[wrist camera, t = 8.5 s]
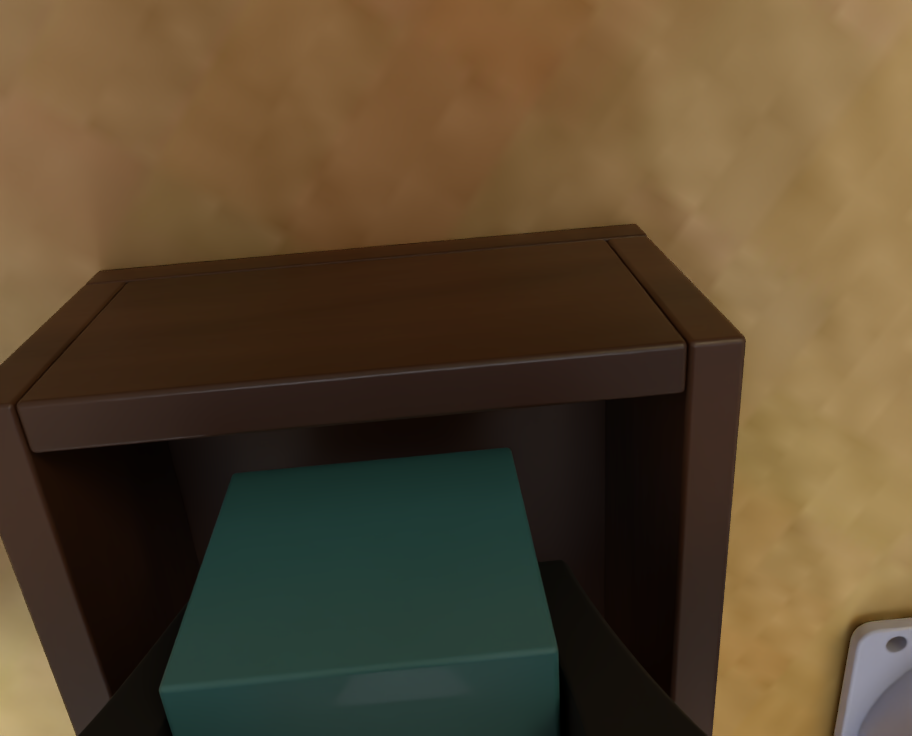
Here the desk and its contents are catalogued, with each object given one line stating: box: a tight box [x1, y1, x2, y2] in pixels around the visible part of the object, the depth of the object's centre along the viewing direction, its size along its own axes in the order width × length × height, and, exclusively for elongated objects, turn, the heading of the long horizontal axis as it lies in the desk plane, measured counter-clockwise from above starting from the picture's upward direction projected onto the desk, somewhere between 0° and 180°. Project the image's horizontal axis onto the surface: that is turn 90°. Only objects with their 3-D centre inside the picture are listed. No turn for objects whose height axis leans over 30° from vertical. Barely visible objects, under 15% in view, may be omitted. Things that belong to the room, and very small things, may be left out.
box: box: [0, 224, 746, 736], centre depth 16 cm, size 12×11×6 cm
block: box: [159, 448, 561, 736], centre depth 12 cm, size 4×4×4 cm
